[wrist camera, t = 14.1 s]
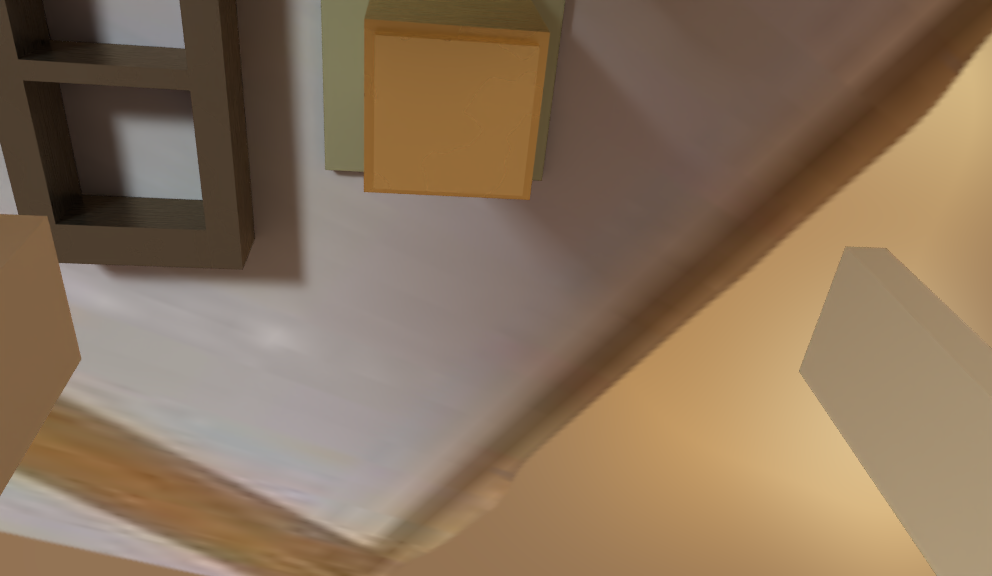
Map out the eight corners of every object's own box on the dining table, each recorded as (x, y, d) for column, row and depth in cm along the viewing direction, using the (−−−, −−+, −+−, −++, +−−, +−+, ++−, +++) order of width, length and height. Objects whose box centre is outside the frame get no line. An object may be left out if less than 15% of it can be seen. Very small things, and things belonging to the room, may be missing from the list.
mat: (317, -190, 29) (316, -190, 28) (583, -163, 30) (586, -162, 29) (326, 164, 36) (325, 169, 35) (540, 175, 37) (541, 180, 36)
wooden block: (383, -50, 31) (363, 22, 20) (508, -40, 31) (552, 36, 21) (381, 75, 33) (363, 197, 23) (496, 82, 34) (531, 205, 23)
